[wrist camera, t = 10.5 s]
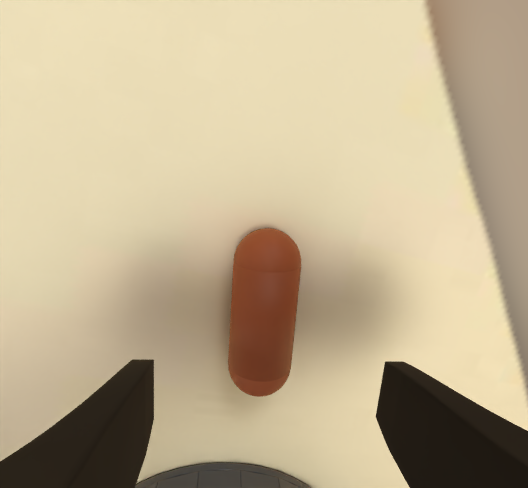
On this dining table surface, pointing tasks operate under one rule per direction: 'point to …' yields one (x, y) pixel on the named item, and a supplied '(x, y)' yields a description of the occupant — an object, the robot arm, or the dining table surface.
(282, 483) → the bowl
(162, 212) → the dining table surface
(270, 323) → the sausage
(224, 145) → the dining table surface
